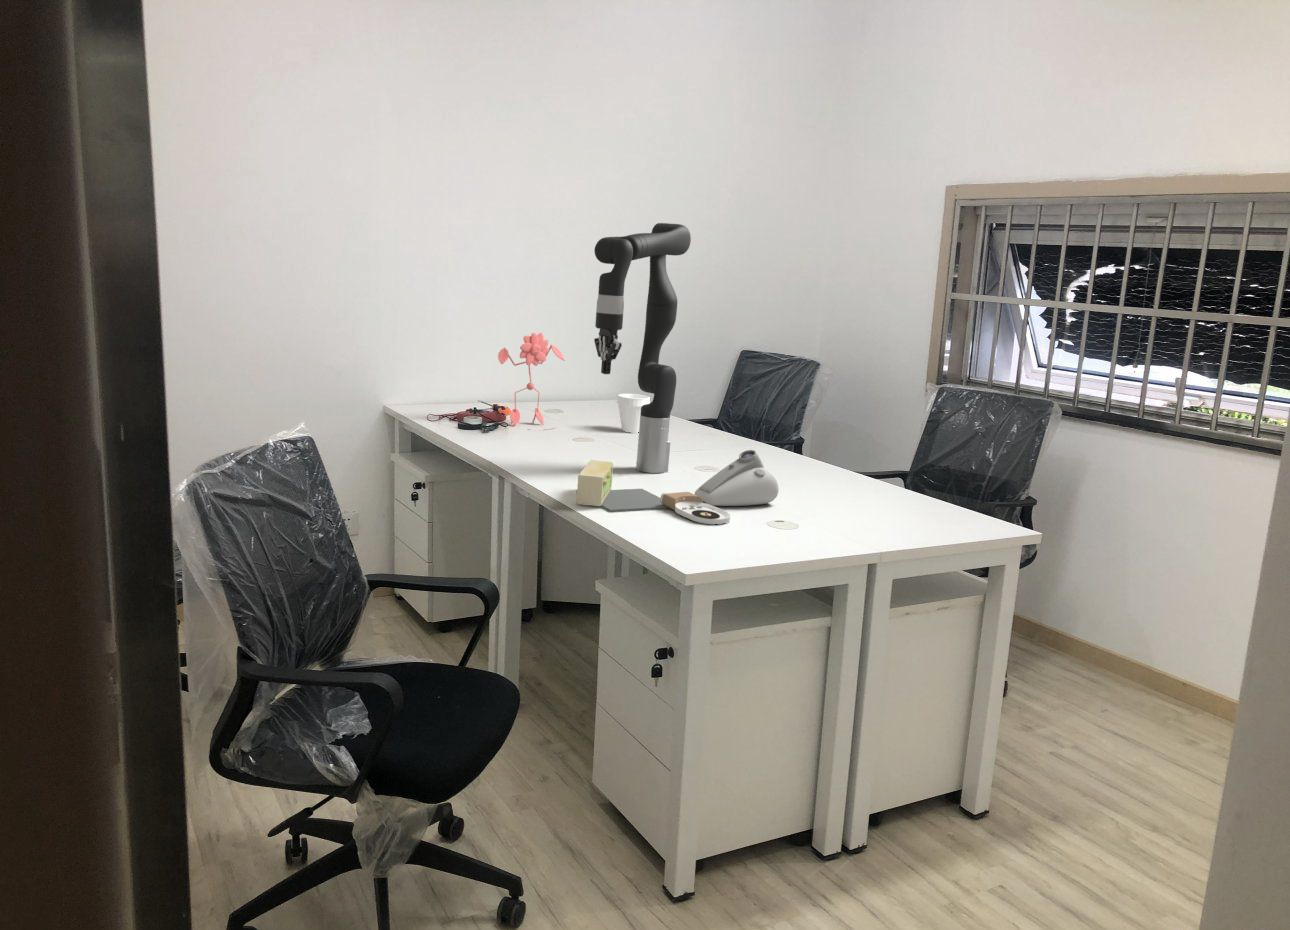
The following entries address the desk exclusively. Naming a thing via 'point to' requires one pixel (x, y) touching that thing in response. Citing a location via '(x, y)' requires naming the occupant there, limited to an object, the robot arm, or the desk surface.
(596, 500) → the toy refrigerator
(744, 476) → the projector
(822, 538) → the desk surface
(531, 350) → the figurine
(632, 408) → the cup
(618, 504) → the mat
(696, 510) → the record player
